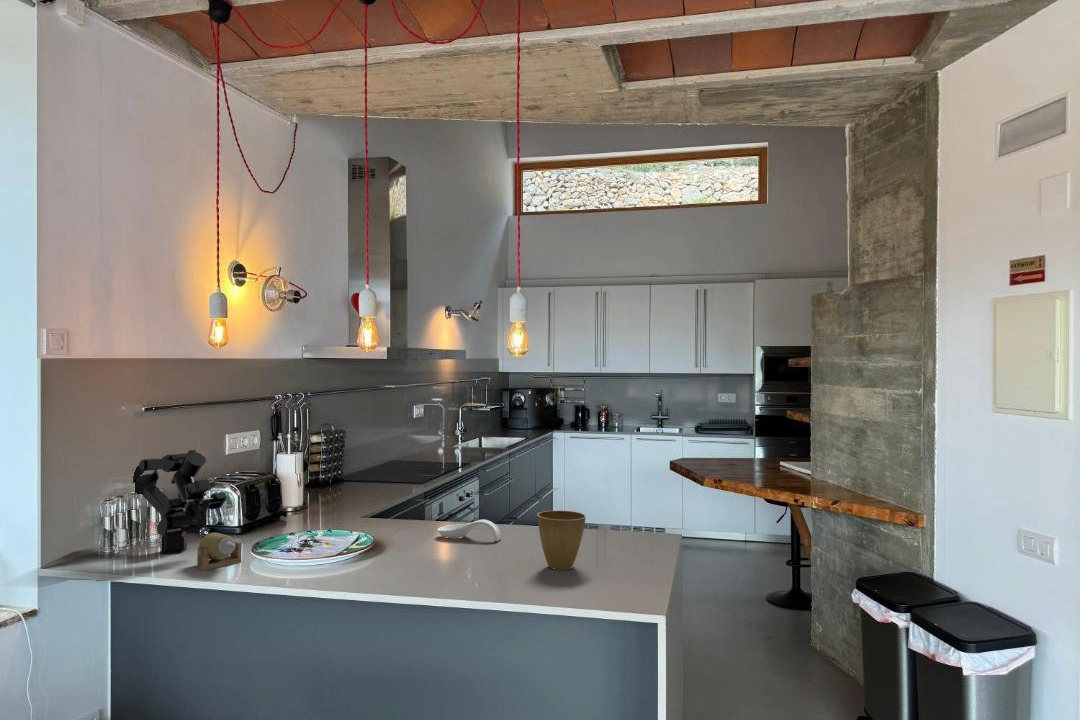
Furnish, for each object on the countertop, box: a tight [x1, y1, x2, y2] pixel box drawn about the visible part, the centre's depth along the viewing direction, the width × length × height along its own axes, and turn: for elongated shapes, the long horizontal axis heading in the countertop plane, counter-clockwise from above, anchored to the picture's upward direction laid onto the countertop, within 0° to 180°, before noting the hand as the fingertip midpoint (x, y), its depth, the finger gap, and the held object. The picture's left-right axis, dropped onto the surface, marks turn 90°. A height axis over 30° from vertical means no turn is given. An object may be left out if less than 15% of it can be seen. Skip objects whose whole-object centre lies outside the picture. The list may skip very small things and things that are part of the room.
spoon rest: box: [437, 518, 502, 541], centre depth 255 cm, size 24×12×7 cm, turn 72°
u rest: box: [196, 540, 243, 571], centre depth 217 cm, size 4×12×6 cm, turn 144°
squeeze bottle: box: [198, 532, 236, 560], centre depth 214 cm, size 8×8×18 cm
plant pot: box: [536, 510, 587, 570], centre depth 218 cm, size 15×15×16 cm
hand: (204, 525), depth 222 cm, fingers closed
